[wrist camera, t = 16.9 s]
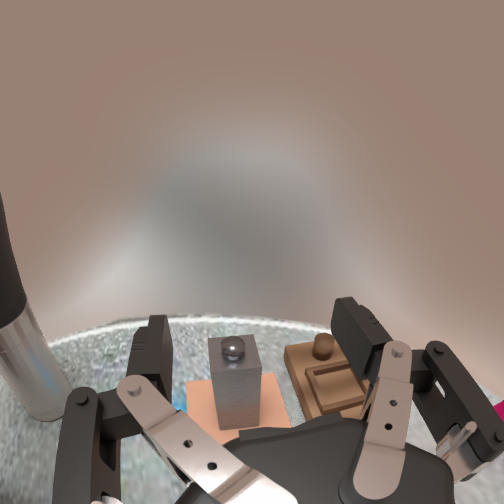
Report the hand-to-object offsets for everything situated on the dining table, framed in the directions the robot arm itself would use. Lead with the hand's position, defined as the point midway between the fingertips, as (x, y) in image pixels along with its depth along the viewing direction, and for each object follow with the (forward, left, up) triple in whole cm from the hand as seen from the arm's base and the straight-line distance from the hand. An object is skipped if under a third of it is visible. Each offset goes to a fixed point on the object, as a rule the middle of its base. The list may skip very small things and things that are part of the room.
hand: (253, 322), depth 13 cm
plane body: (-3, +18, -26) cm, 32 cm away
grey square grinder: (-10, +6, -25) cm, 27 cm away
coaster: (-10, +6, -26) cm, 28 cm away
